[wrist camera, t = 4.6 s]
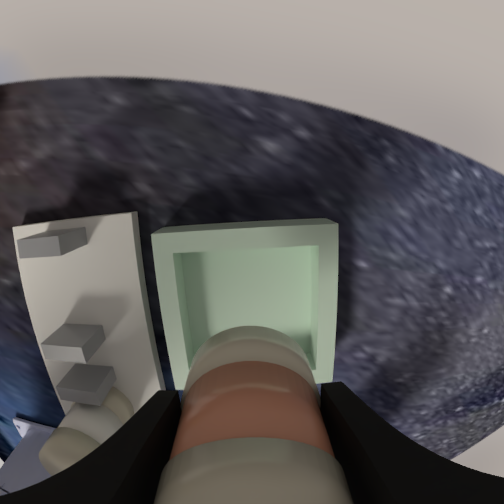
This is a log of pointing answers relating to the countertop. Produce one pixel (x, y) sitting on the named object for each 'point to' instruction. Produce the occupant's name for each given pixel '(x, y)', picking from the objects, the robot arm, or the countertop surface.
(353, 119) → the countertop surface
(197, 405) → the marked fuse
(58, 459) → the cylinder
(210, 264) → the parts tray
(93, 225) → the block
